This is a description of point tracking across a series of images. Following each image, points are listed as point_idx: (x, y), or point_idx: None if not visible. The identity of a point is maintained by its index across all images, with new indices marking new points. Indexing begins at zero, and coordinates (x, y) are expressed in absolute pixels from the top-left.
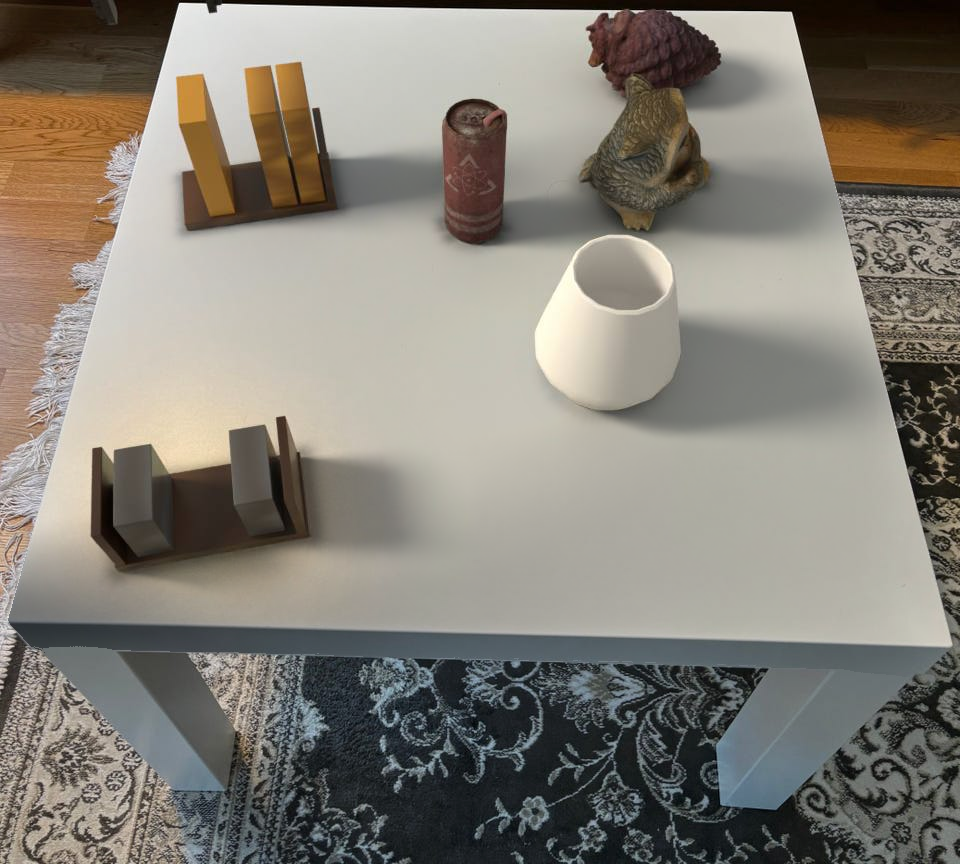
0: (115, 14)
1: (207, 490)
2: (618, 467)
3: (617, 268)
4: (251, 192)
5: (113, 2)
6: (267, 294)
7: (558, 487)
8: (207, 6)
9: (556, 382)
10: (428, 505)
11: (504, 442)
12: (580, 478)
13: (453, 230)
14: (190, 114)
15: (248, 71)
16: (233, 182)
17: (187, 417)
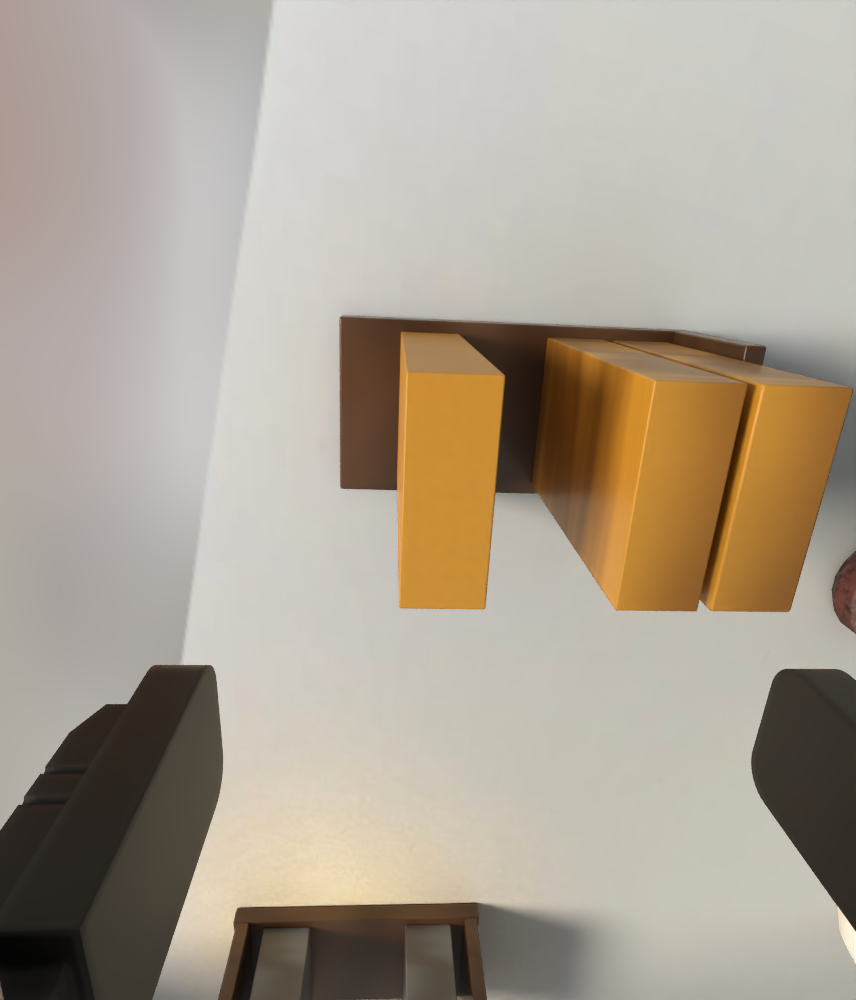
0: (210, 744)
1: (355, 944)
2: (838, 958)
3: None
4: None
5: (192, 716)
6: (477, 658)
7: (761, 968)
8: (781, 824)
9: (853, 957)
10: (610, 968)
11: (729, 918)
12: (790, 963)
13: (845, 621)
14: (439, 577)
15: (664, 402)
16: None
17: (330, 834)
